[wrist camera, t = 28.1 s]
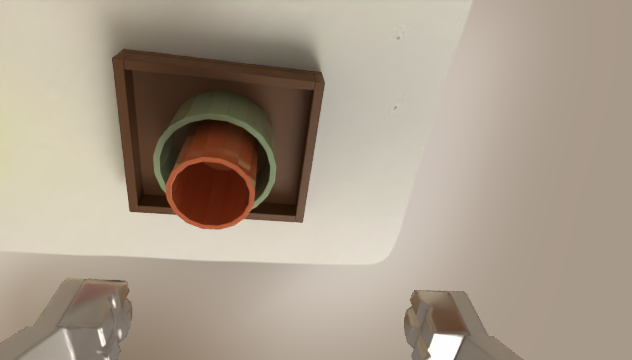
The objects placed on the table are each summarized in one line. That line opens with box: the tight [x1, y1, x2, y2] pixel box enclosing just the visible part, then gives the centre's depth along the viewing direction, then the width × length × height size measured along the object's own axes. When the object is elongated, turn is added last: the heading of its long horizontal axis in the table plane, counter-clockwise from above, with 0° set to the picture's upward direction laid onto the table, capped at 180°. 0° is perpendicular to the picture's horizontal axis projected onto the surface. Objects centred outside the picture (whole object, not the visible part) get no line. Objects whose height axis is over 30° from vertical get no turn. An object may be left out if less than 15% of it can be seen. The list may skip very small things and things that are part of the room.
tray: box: [112, 49, 325, 223], centre depth 37 cm, size 17×15×3 cm
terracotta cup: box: [166, 119, 259, 229], centre depth 34 cm, size 6×6×9 cm
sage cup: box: [153, 90, 276, 209], centre depth 36 cm, size 10×10×6 cm
